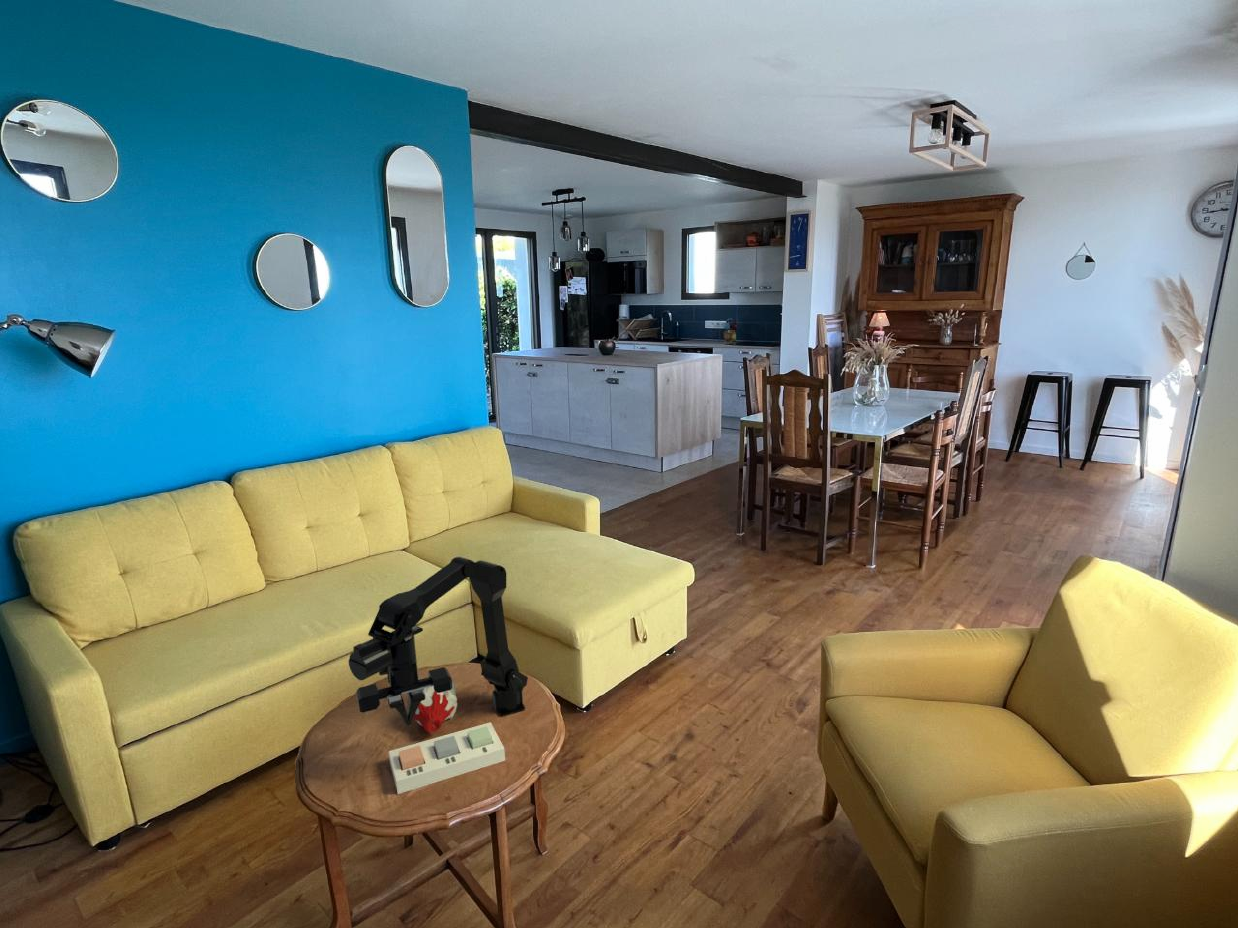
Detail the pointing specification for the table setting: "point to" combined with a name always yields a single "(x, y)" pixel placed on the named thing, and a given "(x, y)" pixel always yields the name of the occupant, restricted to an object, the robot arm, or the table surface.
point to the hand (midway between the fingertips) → (408, 724)
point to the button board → (446, 760)
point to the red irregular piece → (436, 708)
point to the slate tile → (446, 747)
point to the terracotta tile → (411, 757)
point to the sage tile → (479, 737)
